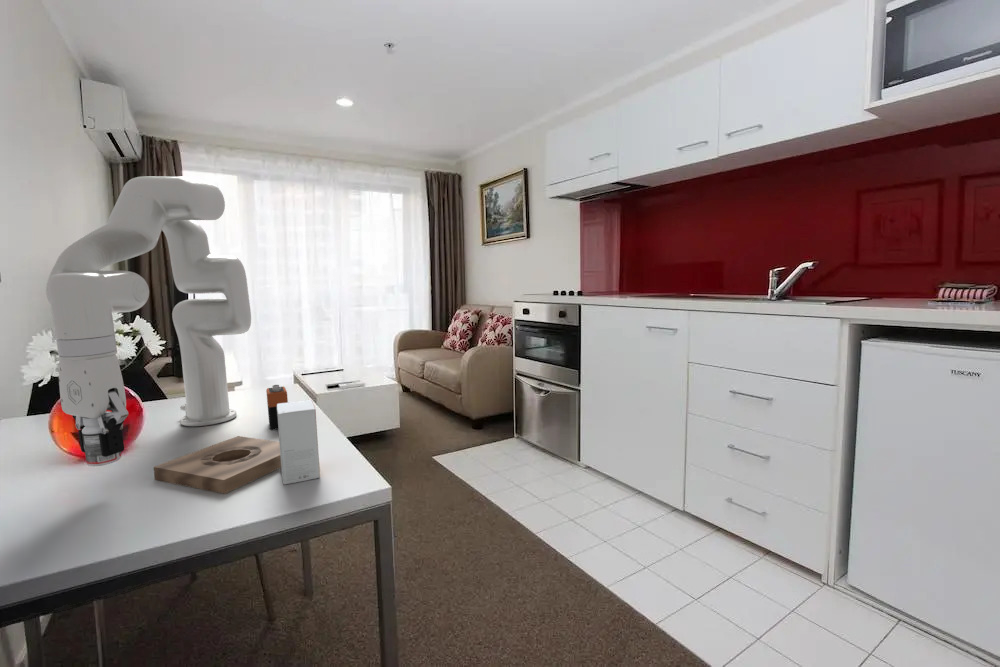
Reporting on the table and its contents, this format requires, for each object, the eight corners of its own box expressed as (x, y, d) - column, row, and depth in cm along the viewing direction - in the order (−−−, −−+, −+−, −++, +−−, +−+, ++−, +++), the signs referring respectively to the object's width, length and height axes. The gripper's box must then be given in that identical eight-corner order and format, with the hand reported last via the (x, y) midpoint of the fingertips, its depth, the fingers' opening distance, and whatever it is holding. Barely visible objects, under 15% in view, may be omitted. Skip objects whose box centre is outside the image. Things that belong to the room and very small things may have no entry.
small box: (320, 478, 89) (316, 408, 87) (282, 485, 86) (277, 413, 85) (316, 463, 96) (311, 398, 95) (281, 469, 94) (275, 403, 92)
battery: (270, 430, 118) (267, 390, 117) (269, 423, 124) (265, 384, 123) (290, 427, 120) (286, 387, 119) (287, 420, 126) (284, 382, 125)
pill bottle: (99, 456, 87) (93, 411, 85) (128, 455, 87) (121, 409, 86) (79, 467, 82) (72, 419, 81) (109, 466, 82) (102, 418, 81)
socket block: (154, 479, 90) (153, 466, 90) (239, 447, 107) (238, 436, 106) (225, 494, 83) (223, 480, 83) (303, 456, 100) (302, 445, 100)
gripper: (30, 348, 81) (47, 453, 84) (94, 354, 75) (110, 467, 78) (82, 341, 88) (96, 438, 91) (144, 346, 82) (158, 449, 85)
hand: (103, 450), depth 84 cm, fingers closed on pill bottle, 4 cm apart
